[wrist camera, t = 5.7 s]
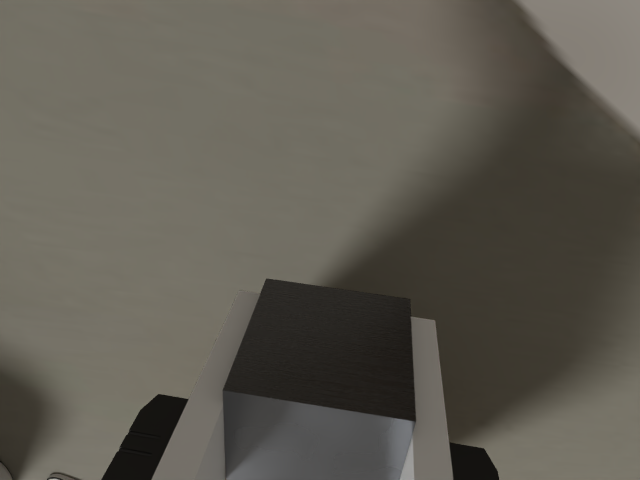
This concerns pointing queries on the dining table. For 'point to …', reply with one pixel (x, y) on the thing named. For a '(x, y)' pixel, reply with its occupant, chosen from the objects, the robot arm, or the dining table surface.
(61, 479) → the smartphone
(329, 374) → the steel shaft
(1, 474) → the mug
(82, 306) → the dining table surface
